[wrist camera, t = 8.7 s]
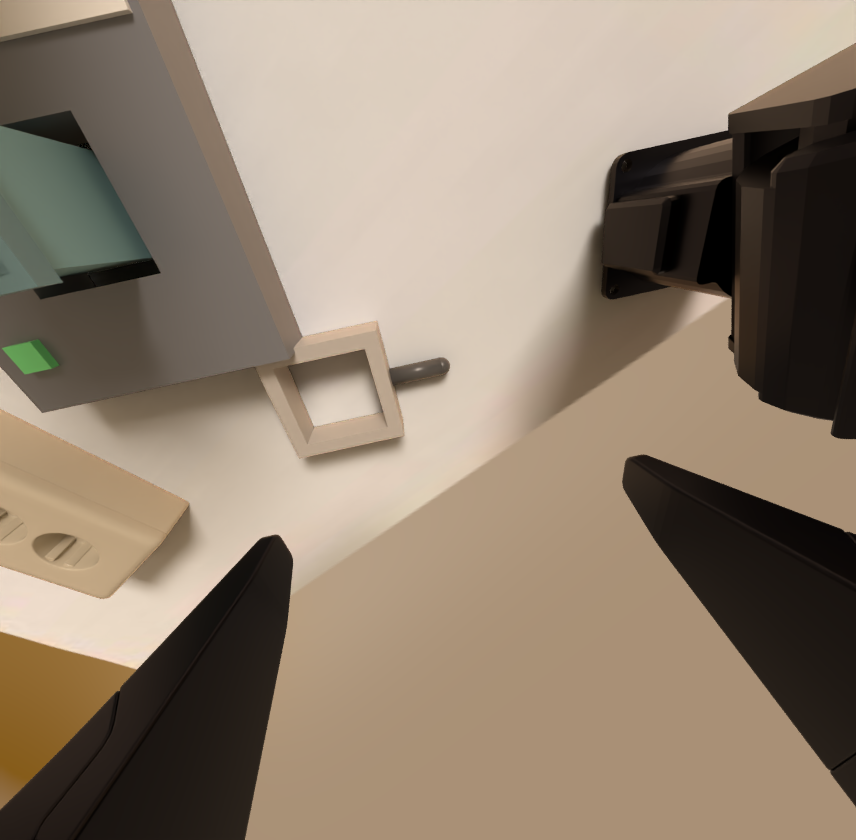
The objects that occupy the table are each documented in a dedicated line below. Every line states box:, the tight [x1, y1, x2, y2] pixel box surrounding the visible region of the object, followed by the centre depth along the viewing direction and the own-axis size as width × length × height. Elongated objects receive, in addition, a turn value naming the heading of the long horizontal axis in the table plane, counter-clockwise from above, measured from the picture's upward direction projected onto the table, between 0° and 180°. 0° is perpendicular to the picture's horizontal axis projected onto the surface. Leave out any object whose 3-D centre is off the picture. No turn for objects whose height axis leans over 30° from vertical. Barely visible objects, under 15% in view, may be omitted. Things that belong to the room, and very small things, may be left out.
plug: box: [0, 126, 154, 296], centre depth 11 cm, size 4×4×8 cm
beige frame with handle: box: [255, 321, 450, 459], centre depth 19 cm, size 10×6×2 cm, turn 101°
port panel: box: [0, 0, 302, 413], centre depth 13 cm, size 12×14×3 cm
